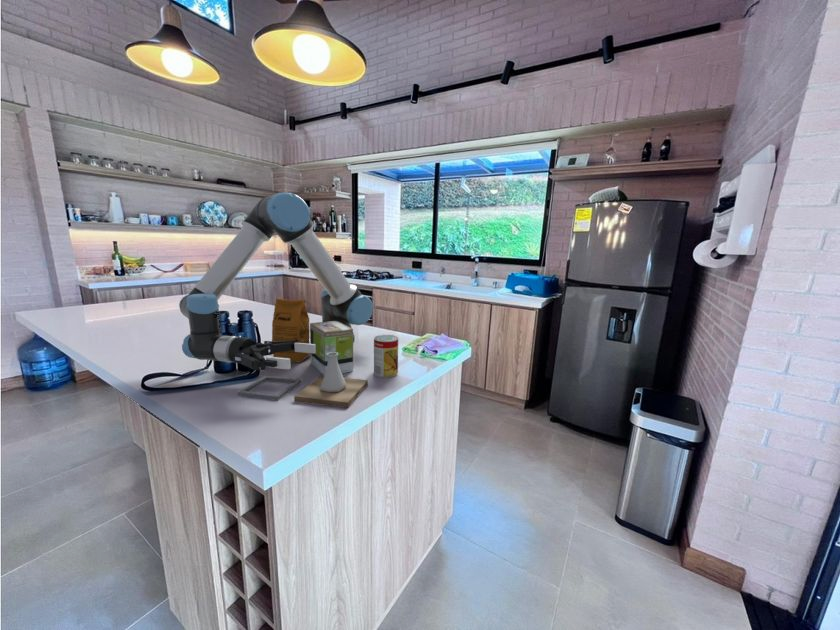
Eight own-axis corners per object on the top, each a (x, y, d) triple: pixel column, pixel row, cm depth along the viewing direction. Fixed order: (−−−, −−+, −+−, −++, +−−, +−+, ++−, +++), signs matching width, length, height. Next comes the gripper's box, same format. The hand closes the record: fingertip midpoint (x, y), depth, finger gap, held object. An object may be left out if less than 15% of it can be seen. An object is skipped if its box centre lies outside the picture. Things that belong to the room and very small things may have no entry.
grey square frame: (266, 378, 101) (265, 375, 101) (301, 382, 99) (301, 379, 99) (238, 395, 90) (237, 392, 90) (277, 400, 88) (277, 396, 87)
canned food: (402, 372, 110) (403, 337, 107) (387, 379, 103) (388, 342, 101) (384, 367, 114) (384, 333, 112) (368, 373, 108) (368, 338, 105)
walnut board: (321, 379, 102) (321, 375, 101) (367, 384, 99) (367, 380, 99) (294, 401, 87) (294, 396, 87) (347, 407, 85) (347, 402, 84)
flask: (315, 391, 90) (314, 356, 88) (326, 381, 97) (325, 348, 95) (340, 394, 89) (340, 358, 87) (350, 383, 96) (349, 350, 94)
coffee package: (284, 352, 126) (281, 295, 122) (314, 355, 124) (312, 297, 119) (267, 361, 117) (263, 299, 112) (299, 364, 114) (296, 301, 110)
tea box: (354, 371, 109) (354, 328, 106) (324, 377, 104) (323, 332, 101) (337, 358, 121) (336, 319, 118) (310, 363, 116) (308, 322, 113)
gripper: (264, 349, 109) (324, 354, 106) (202, 377, 85) (277, 386, 81) (262, 327, 108) (323, 332, 104) (199, 349, 84) (275, 357, 80)
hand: (303, 355), depth 93 cm, fingers open, 13 cm apart
